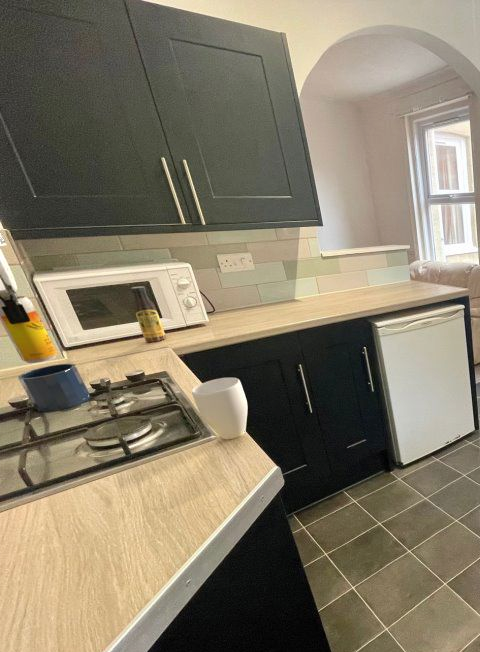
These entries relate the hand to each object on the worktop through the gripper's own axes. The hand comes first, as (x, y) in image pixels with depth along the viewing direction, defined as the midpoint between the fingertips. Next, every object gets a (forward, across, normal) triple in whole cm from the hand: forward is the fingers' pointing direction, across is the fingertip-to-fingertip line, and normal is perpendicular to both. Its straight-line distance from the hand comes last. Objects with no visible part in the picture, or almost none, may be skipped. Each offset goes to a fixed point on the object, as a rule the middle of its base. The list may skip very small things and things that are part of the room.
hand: (20, 319), depth 98 cm
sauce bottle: (+22, -51, +28) cm, 62 cm away
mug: (+22, +53, +23) cm, 62 cm away
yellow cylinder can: (+10, 0, 0) cm, 10 cm away
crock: (+22, 0, 0) cm, 22 cm away
